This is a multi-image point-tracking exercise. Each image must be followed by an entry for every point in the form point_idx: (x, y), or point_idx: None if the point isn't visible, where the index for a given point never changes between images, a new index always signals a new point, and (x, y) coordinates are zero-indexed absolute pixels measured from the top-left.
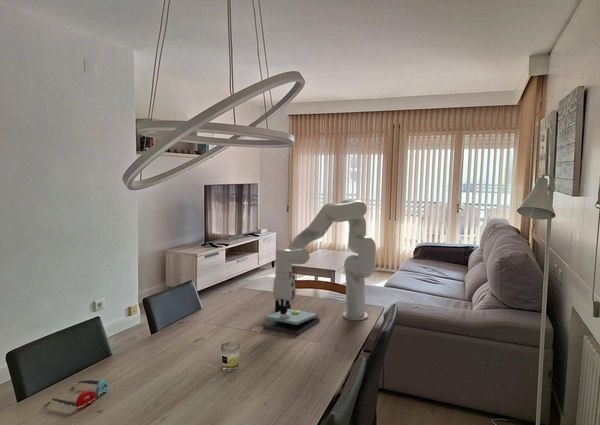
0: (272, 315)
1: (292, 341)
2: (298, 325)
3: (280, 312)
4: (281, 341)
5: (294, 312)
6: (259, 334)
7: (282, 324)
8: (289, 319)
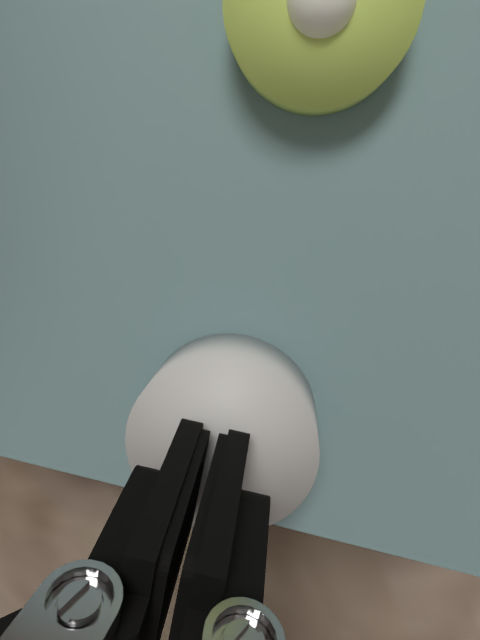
0: (8, 375)
1: (431, 583)
2: None
3: (8, 105)
4: (332, 593)
5: (315, 110)
6: (82, 502)
7: None
8: (341, 486)
